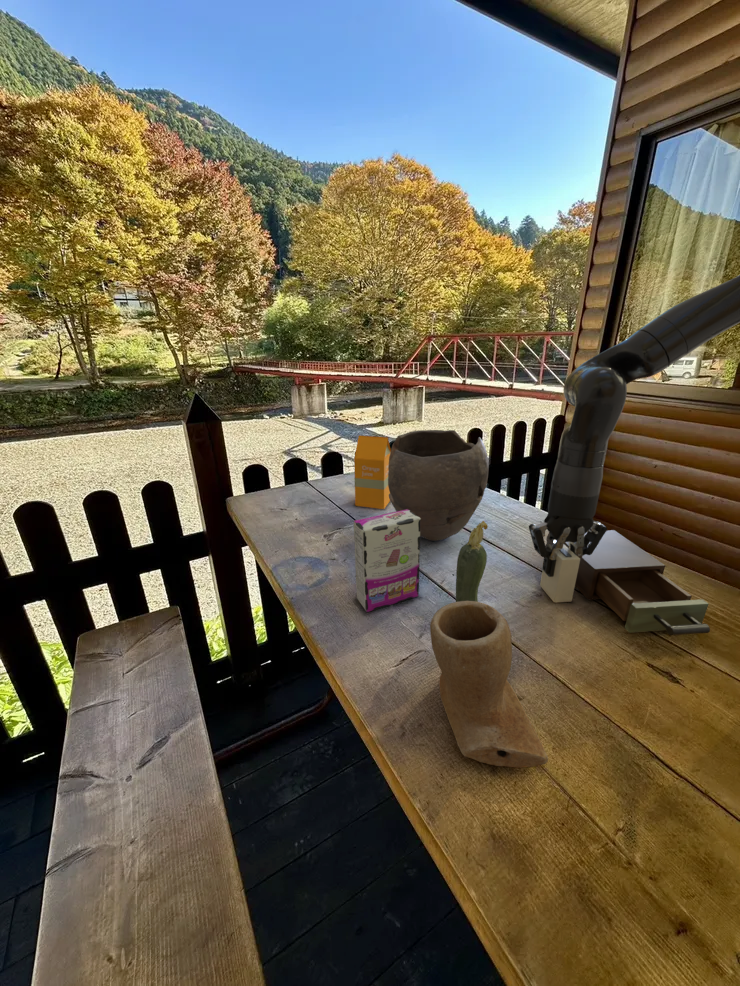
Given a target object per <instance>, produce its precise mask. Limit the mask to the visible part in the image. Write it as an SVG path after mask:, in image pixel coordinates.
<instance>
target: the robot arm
mask: <svg viewBox="0 0 740 986" xmlns="http://www.w3.org/2000/svg"><path fill="white" fill-rule="evenodd" d="M738 324H740V274H739V275H737V276H735V277H733V278H732V279H729V280H727V281H725V282H723V283H721V284H719V285H716V286H714V287H711V288H710V289H707V290H705V291H702V292H701V293H699V294H696V295H694V296H691V297H690V298H687V299H685V300H683V301H681V302H679V303H678V304H675V305H674V306H672V307H671V308H669V309H667V310H666V311H664V312H662V313H661V314H660V315H658V316H657V317H656V318H654V319H652V320H651V321H649V322H648V323H646V324H645V325H644V326H642V327H641V328H639V329H637V330H636V331H635V332H634V333H632V334H631V335H630V336H629V337H627V338H626V339H624V340H622V341H621V342H619V343H618V344H617V343H616V344H615V345H614V346H611V347H609V348H607V349H606V350H604V351H602V352H600V353H598V354H597V355H595V356H593V357H591V358H590V359H588V360H586V361H584V362H583V363H582V364H580V365H579V366H577V367H576V368H574V369H573V371H571V372H570V374H569V375H568V376H567V378H566V380H565V382H564V384H563V389H562V391H563V396H564V398H565V400H566V401H567V402H568V403H569V404H570V405H571V406H572V407H574V411H573V415H572V418H571V422H570V425H569V426H567V427H565V428H564V430H563V431H562V433H561V437H560V441H559V447H558V452H557V459H556V463H555V466H554V470H553V474H552V479H551V483H550V491H549V492H550V493H549V497H548V504H547V515H546V516H545V518H544V520H543V522H541V523H538V524H535V523H530V524H529V525H528V531H529V534H530V538H531V540H532V545H533V547H534V550H535V552H537V554H538V555H539V556H540V557H541V558H543V560H542V567H541V569H542V571H544V572H545V573H546V574H547V575H548V576H549V577H553V576H554V570H555V565H556V557H557V555H558V552H559V550H561V549H562V548H563V545H564V543H565V542H569V549H570V550H571V551H572V552H573V553H574V554H575V555H576V556H578V557H579V558H582V556H583V555H586V554H587V555H591V554H592V553H593V551H594V550H595V548H596V547H597V545H598V543H599V542H600V540H601V539H602V537H603V535H604V534H605V532H606V531H608V527H607V526H606V525H604V524H603V523H601V522H600V521H598V520H594V517H595V515H596V512H597V507H598V503H599V497H600V492H601V488H602V484H603V477H604V465H605V461H606V455H607V451H608V445H609V439H610V438H611V436H612V434H613V432H614V430H615V428H616V426H617V424H618V422H619V419H620V417H621V415H622V412H623V410H624V407H625V404H626V400H627V395H628V394H627V393H628V386H627V385H628V384H630V383H632V382H634V381H636V380H639V379H645V378H650V377H653V376H655V375H657V374H659V373H661V372H663V371H664V370H665V369H667V368H669V367H670V366H671V365H673V364H675V363H676V362H678V361H679V360H681V359H682V358H684V357H686V356H687V355H689V354H690V353H692V352H693V351H695V350H696V349H698V348H699V347H701V346H703V345H704V344H705V343H707V342H709V341H710V340H712V339H714V338H716V337H717V336H718V335H720V334H722V333H725V331H727V330H729V329H732V327H734V326H737V325H738ZM546 530H547V531H548V534H547V535H546ZM586 532H587V533H586ZM585 533H586V535H585V537H584V534H585ZM544 537H546V543H545V539H544ZM589 542H590V544H589ZM588 544H589V545H588Z"/></svg>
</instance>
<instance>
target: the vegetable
mask: <svg viewBox="0 0 740 986" xmlns="http://www.w3.org/2000/svg"><path fill="white" fill-rule="evenodd" d="M488 528H489V526H488V524H487V522H486V521H485V520H482V521H481V522H479V523H478V524H477V525H476V526H475V527H473V529H472V530H471V532H470V534H469V537H468V542H466V543H465V544H464V545H463V546H462V547H460V550H459V552H458V556H457V561H456V576H455V602H459V601H476V602H479V597H478V594H479V587H480V584H481V580H482V579H483V576H484V572H485V569H486V566H487V562H488V560H487V559H488V555H487V551H486V549H485V547H484V546H483V544H481V543H482V541H483V539H484V530H485V531H486V530H487V529H488Z"/></svg>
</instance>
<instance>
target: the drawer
mask: <svg viewBox="0 0 740 986" xmlns="http://www.w3.org/2000/svg"><path fill="white" fill-rule="evenodd" d="M594 592H595V593H596V594H597V595H598V596H599V597H600V598H601V599H600V600H602V602H604V603H605V604H606V605H607V606H608V607H609V608H610V609H611V610H612V611H613V612H614V613H615V614H616V615H617V616H618V617H619V618H620V619H621V620H622V621H624V622H625V625H624V629H625V630H626V631H627V632H628V633H630V634H632V633H644V632H645V633H646V632H658V631H659V632H661V631H666V633H667V635H669V636H683V635H684V636H685V635H698V634H700V635H701V634H709V633H710V631H711V628H710V626H709V625H708V624H707V623H703V622H704V619H705V616H706V613H707V610H708V608H709V604H710V603H708V602H707V601H706V600H705V599H703V598H701V599H692V594H691V593H689V592H687V591H686V590H685V589H683V588H682V587H680V586H679V585H678V584H676V583H675V582H673V581H672V580H671V579H669V577H667V576H665V575H664V574H663V575H662V574H661V573H660V572H658V571H657V570H637V571H619V572H601V573H598V575H597V580H596V584H595V589H594Z"/></svg>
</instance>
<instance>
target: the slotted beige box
mask: <svg viewBox="0 0 740 986" xmlns="http://www.w3.org/2000/svg"><path fill="white" fill-rule="evenodd" d="M579 563H580V558H579V557H578V556H576V555H575V554H574V553H573V552H572V551H571V550H570V549H569V548H567V547H566V546H565V545H563V548H562V549H561V550H559V552H558V555H557V557H556V565H555V570H554V576H553V577H549V576H548V575H547V574H546V573H545V572H544V571H543V570H542V572H541V578H540V584H539V586H540V587H541V589H542V590H543V591H544V593H546V595H547V596H548V597H549V598H550V600H552V602H553V603H567V602H568V603H569V602H572V601H573V597H574V591H575V588H576V587H575V583H576V578H577V573H578V568H579Z"/></svg>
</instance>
